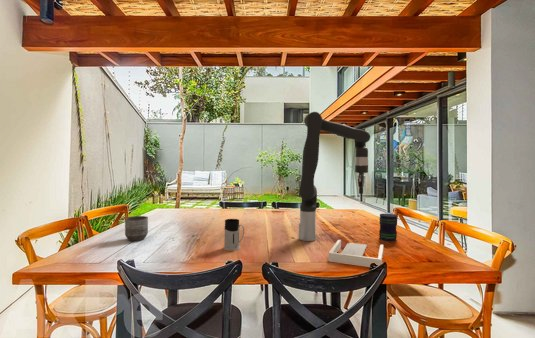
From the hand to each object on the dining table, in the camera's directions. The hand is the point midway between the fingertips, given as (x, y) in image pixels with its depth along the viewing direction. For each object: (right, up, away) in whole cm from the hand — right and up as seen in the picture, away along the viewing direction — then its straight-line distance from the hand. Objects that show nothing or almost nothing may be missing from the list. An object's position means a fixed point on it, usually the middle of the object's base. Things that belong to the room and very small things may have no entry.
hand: (361, 193), depth 177 cm
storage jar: (+16, -28, +1) cm, 33 cm away
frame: (-12, -28, -32) cm, 45 cm away
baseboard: (-13, -29, -25) cm, 41 cm away
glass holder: (-73, -28, -23) cm, 81 cm away
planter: (-132, -27, -6) cm, 135 cm away
